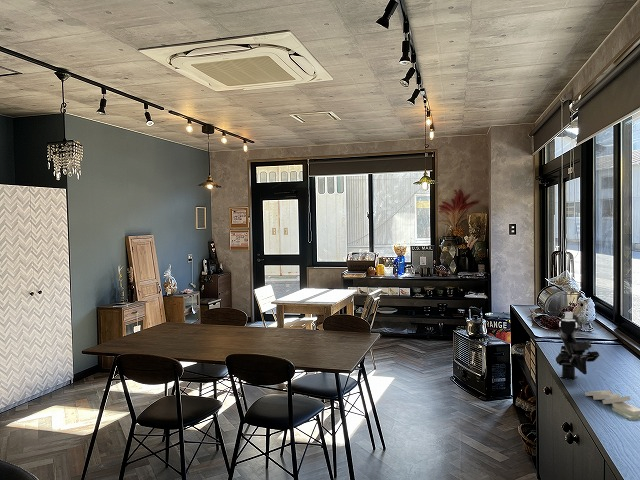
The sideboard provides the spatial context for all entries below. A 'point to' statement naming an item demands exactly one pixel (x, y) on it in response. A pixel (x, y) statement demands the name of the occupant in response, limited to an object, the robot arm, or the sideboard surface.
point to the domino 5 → (626, 414)
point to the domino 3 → (616, 400)
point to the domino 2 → (606, 396)
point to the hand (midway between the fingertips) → (585, 374)
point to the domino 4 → (627, 408)
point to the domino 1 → (598, 393)
